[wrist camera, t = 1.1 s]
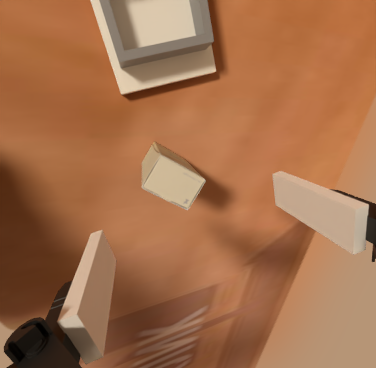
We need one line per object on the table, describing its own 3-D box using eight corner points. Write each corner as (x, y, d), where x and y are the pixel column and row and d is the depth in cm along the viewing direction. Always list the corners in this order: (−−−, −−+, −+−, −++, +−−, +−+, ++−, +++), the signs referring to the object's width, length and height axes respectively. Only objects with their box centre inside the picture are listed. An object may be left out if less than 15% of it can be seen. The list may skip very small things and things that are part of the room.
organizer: (121, 95, 30) (119, 91, 25) (74, -50, 24) (60, -89, 20) (212, 73, 32) (225, 66, 27) (188, -66, 26) (199, -105, 22)
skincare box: (185, 159, 35) (209, 179, 24) (172, 181, 36) (189, 212, 25) (152, 139, 33) (161, 152, 22) (139, 164, 34) (140, 188, 22)
